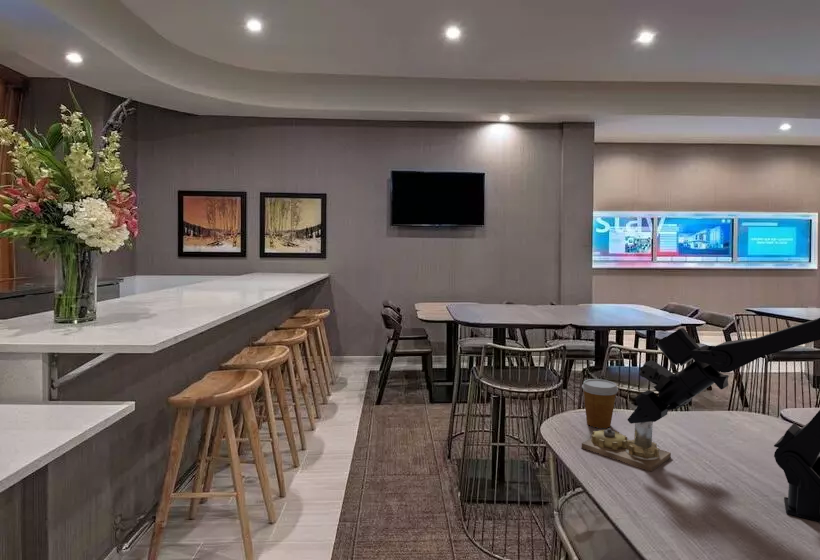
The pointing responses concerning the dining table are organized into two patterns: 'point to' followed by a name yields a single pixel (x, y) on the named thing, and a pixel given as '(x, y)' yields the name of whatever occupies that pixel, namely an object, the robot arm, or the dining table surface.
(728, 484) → the dining table surface
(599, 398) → the disposable coffee cup
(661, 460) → the gear board
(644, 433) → the pinion
